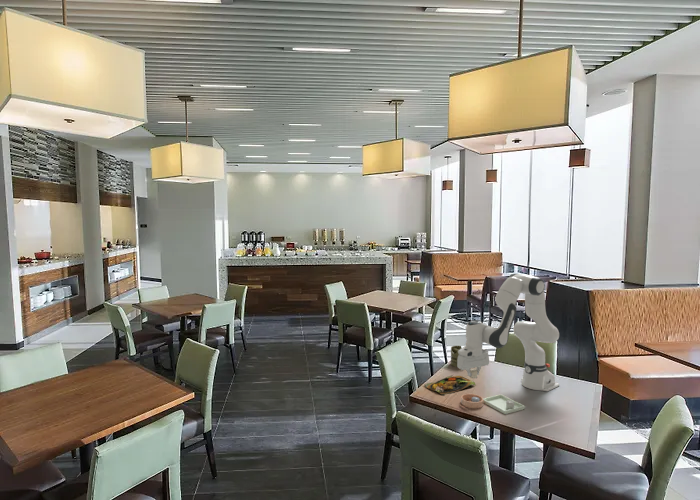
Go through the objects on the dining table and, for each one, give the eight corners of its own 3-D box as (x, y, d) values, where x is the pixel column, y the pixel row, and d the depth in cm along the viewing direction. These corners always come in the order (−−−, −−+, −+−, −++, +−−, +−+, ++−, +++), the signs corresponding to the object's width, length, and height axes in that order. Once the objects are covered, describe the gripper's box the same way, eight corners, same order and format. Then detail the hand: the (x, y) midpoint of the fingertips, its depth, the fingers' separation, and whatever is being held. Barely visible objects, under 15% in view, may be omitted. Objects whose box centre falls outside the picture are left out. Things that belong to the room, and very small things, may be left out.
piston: (459, 351, 278) (447, 347, 288) (459, 368, 279) (447, 363, 289) (471, 348, 284) (458, 344, 294) (470, 365, 285) (458, 360, 295)
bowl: (472, 398, 231) (472, 392, 231) (487, 406, 221) (487, 400, 221) (456, 402, 226) (456, 396, 226) (471, 410, 216) (471, 404, 216)
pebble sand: (473, 375, 226) (473, 368, 226) (478, 377, 223) (478, 370, 223) (468, 376, 224) (468, 369, 224) (473, 378, 221) (473, 372, 221)
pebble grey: (509, 406, 219) (510, 399, 219) (515, 409, 216) (515, 402, 216) (504, 408, 218) (504, 401, 218) (510, 411, 214) (510, 404, 214)
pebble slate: (475, 403, 224) (475, 396, 224) (480, 406, 220) (480, 399, 220) (470, 404, 222) (470, 397, 222) (475, 407, 219) (475, 400, 219)
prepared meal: (444, 391, 234) (422, 380, 249) (444, 397, 234) (422, 386, 249) (477, 382, 249) (454, 373, 264) (476, 388, 249) (454, 378, 264)
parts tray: (500, 397, 232) (500, 394, 232) (524, 409, 217) (524, 405, 217) (481, 402, 226) (481, 398, 226) (505, 415, 211) (505, 411, 211)
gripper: (483, 346, 230) (483, 370, 231) (455, 351, 221) (455, 376, 222) (492, 349, 225) (491, 374, 225) (463, 354, 216) (463, 379, 216)
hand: (473, 375), depth 224 cm, fingers closed on pebble sand, 4 cm apart
